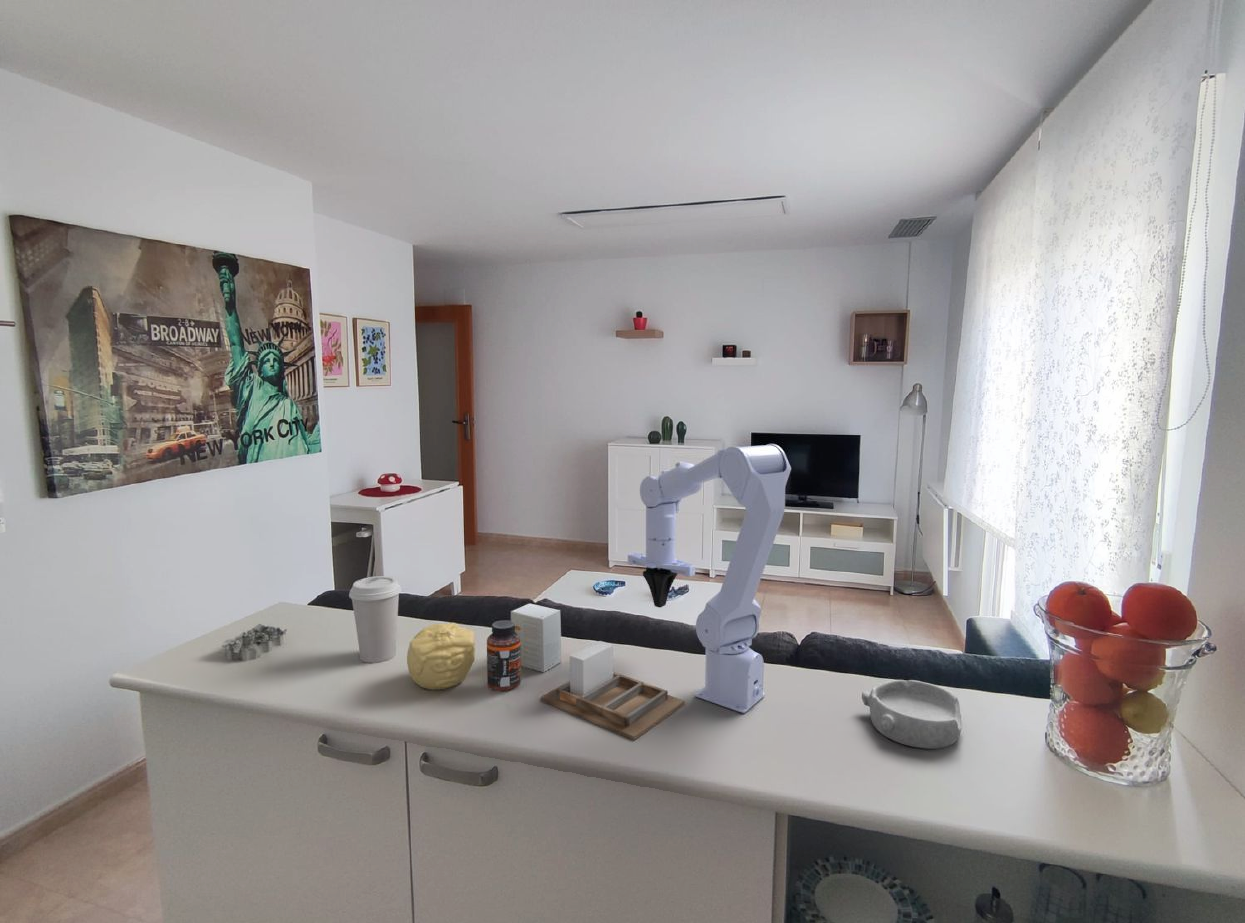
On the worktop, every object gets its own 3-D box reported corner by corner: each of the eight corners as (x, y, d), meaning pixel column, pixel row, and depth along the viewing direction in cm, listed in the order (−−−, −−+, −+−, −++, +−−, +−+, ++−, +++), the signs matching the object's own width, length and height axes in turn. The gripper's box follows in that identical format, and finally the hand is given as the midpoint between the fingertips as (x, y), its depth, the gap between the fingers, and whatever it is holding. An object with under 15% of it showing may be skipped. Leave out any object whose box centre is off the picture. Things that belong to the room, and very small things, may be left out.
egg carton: (250, 664, 122) (248, 644, 121) (218, 660, 123) (216, 640, 123) (291, 642, 132) (290, 623, 131) (261, 639, 134) (259, 620, 133)
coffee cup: (385, 642, 131) (382, 572, 130) (413, 653, 126) (411, 580, 124) (342, 658, 124) (338, 583, 122) (370, 670, 118) (366, 593, 116)
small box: (562, 662, 122) (561, 610, 121) (543, 673, 117) (542, 619, 116) (530, 653, 126) (529, 602, 125) (511, 663, 122) (510, 610, 120)
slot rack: (684, 704, 106) (684, 692, 106) (634, 740, 95) (634, 727, 95) (593, 671, 118) (593, 660, 118) (540, 700, 107) (539, 688, 107)
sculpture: (415, 703, 106) (412, 641, 105) (402, 675, 117) (400, 618, 115) (482, 688, 112) (480, 629, 110) (464, 662, 122) (463, 608, 121)
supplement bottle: (513, 694, 109) (512, 631, 108) (481, 691, 110) (480, 628, 109) (526, 679, 115) (525, 619, 114) (495, 676, 116) (493, 616, 115)
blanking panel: (613, 682, 112) (613, 644, 111) (583, 700, 106) (583, 660, 105) (600, 678, 114) (600, 640, 113) (570, 695, 108) (569, 655, 107)
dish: (949, 711, 104) (951, 682, 104) (978, 758, 91) (980, 726, 90) (857, 701, 107) (858, 673, 107) (871, 746, 94) (873, 715, 93)
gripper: (618, 535, 123) (618, 603, 125) (681, 547, 114) (680, 619, 116) (639, 529, 129) (639, 594, 130) (701, 540, 120) (700, 609, 121)
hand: (660, 605), depth 123 cm, fingers closed
